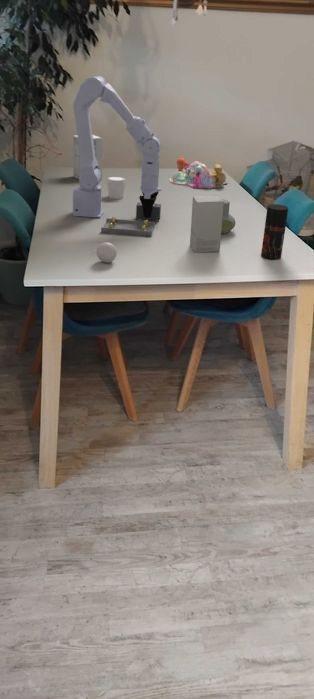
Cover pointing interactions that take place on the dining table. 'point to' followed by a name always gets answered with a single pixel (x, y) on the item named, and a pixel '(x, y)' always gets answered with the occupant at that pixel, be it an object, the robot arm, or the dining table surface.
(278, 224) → the deodorant
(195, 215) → the skincare box
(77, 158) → the supplement box
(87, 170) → the robot arm
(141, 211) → the block
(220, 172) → the candy landscape model
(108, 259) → the white sphere
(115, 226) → the tray
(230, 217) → the air freshener
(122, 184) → the white tapered cup
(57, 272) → the dining table surface
